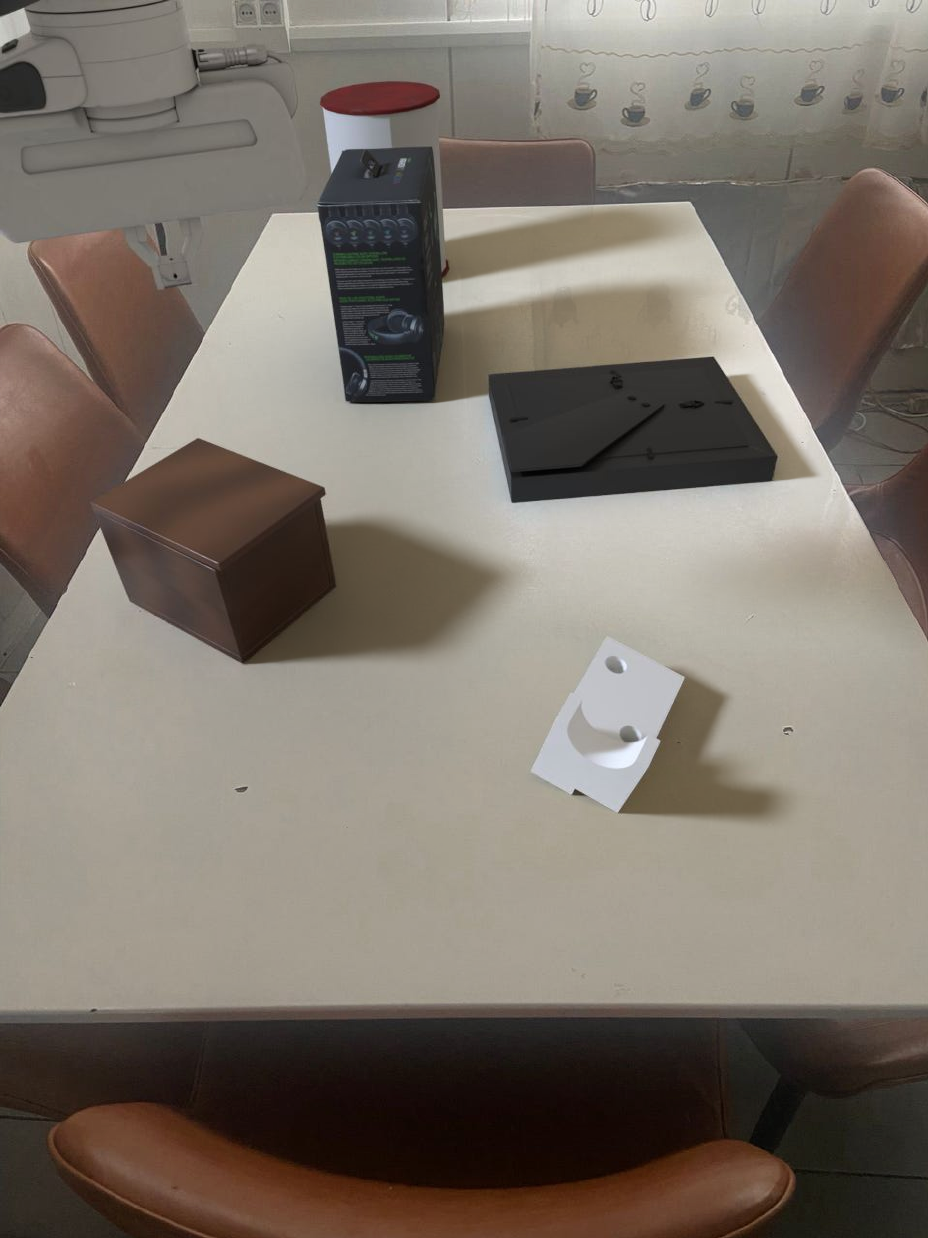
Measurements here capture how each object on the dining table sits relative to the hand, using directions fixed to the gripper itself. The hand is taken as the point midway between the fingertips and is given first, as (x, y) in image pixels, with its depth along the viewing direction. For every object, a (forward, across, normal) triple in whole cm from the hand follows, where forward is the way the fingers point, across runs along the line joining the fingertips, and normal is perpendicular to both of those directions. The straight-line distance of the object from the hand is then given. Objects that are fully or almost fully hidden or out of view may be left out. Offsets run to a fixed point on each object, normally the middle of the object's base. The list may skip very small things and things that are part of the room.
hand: (178, 284), depth 63 cm
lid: (+20, +2, -3) cm, 20 cm away
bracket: (+31, -25, +25) cm, 47 cm away
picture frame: (+31, -44, -16) cm, 57 cm away
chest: (+31, +2, -3) cm, 31 cm away
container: (+31, -32, -76) cm, 88 cm away
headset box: (+31, -24, -44) cm, 59 cm away
